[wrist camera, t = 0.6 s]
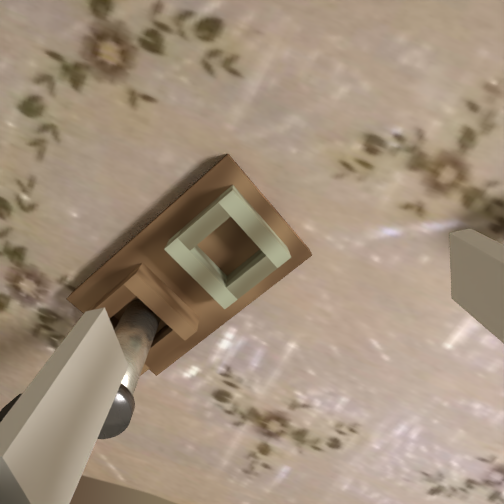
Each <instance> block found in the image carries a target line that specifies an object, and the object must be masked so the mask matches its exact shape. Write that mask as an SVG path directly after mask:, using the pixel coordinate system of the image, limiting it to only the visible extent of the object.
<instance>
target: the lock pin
mask: <svg viewBox="0 0 504 504" xmlns="http://www.w3.org/2000/svg"><path fill="white" fill-rule="evenodd" d="M160 320H161V318H160V317H158V316H157V315H156V314H155V313H154V312H153V311H152V310H151V309H150V308H149V307H148V306H146V305H145V304H144V303H143V302H142V301H141V300H140V299H136V300H134V301H132V302H131V303H130V304H129V305H128V306H127V308H126V310H125V312H124V314H123V315H122V317H121V319H120V321H119V322H118V324H117V326H116V328H115V330H114V331H115V334H116V336H117V339H118V341H119V344H120V346H121V349H122V351H123V354H124V356H125V359H126V361H127V364H128V369H127V371H126V373H125V375H124V378H123V380H122V382H121V385H120V387H119V389H118V392H117V394H116V396H115V399H114V401H113V403H112V406H111V408H110V410H109V413H108V415H107V417H106V420H105V422H104V424H103V427H102V429H101V431H100V434H99V436H98V438H97V439H107V438H112V437H115V436H117V435H119V434H120V433H122V432H123V431H124V430H125V429H126V428H127V427H128V425H129V423H130V420H131V417H132V414H133V411H134V408H135V401H134V397H133V393H134V390H135V388H136V385H137V382H138V379H139V377H140V374H141V371H142V369H143V366H144V363H145V360H146V358H147V355H148V352H149V350H150V347H151V344H152V341H153V339H154V336H155V333H156V331H157V328H158V325H159V322H160Z"/></svg>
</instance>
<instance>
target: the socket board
mask: <svg viewBox="0 0 504 504" xmlns="http://www.w3.org/2000/svg"><path fill="white" fill-rule="evenodd" d="M311 256H312V254H311V252H310V250H309V248H308V247H307V246H306V245H305V244H304V242H303V241H302V240H301V239H300V238H299V236H298V235H297V234H296V233H295V232H294V231H293V229H292V228H291V227H290V226H289V225H288V224H287V222H286V221H285V220H284V219H283V218H282V216H281V215H280V214H279V213H278V212H277V211H276V209H275V208H274V207H273V206H272V205H271V204H270V202H269V201H268V200H267V199H266V198H265V196H264V195H263V194H262V193H261V192H260V191H259V189H258V188H257V187H256V186H255V185H254V184H253V182H252V181H251V180H250V179H249V178H248V176H247V175H246V174H245V173H244V172H243V171H242V169H241V168H240V167H239V166H238V165H237V163H236V162H235V161H234V160H233V159H232V158H231V156H230V155H229V154H227V155H226V156H225V157H223V158H222V159H221V160H220V161H219V162H218V163H217V164H216V165H214V166H213V167H212V168H211V169H210V170H209V171H208V172H207V173H205V174H204V175H203V176H202V177H201V178H200V179H199V180H198V181H197V182H195V183H194V184H193V185H192V186H191V187H190V188H189V189H188V190H186V191H185V192H184V193H183V194H182V195H181V196H180V197H179V198H177V199H176V200H175V201H174V202H173V203H172V204H171V205H170V206H168V207H167V208H166V209H165V210H164V211H163V212H162V213H161V214H159V215H158V216H157V217H156V218H155V219H154V220H153V221H152V222H151V223H149V224H148V225H147V226H146V227H145V228H144V229H143V230H142V231H140V232H139V233H138V234H137V235H136V236H135V237H134V238H133V239H131V240H130V241H129V242H128V243H127V244H126V245H125V246H124V247H122V248H121V249H120V250H119V251H118V252H117V253H116V254H115V255H113V256H112V257H111V258H110V259H109V260H108V261H107V262H106V263H104V264H103V265H102V266H101V267H100V268H99V269H98V270H97V271H96V272H94V273H93V274H92V275H91V276H90V277H89V278H88V279H87V280H85V281H84V282H83V283H82V284H81V285H80V286H79V287H78V288H76V289H75V290H74V291H73V292H72V293H71V294H70V296H69V297H68V298H67V300H68V301H69V302H71V303H72V304H73V305H74V306H75V307H76V308H78V309H79V310H80V311H81V312H82V313H83V314H84V313H85V312H86V311H90V310H95V309H100V308H104V307H105V309H106V312H107V314H108V317H109V319H110V322H111V324H112V326H113V329H114V330H115V328H116V326H117V324H118V322H119V321H120V319H121V317H122V315H123V314H124V312H125V310H126V308H127V306H128V305H129V304H130V303H131V302H132V301H134V300H136V299H140V300H141V301H142V302H143V303H144V304H145V305H146V306H148V307H149V308H150V309H151V310H152V311H153V312H154V313H155V314H156V315H157V316H158V317H160V318H161V320H160V322H159V325H158V328H157V331H156V333H155V336H154V339H153V341H152V344H151V347H150V350H149V352H148V355H147V358H146V360H145V363H144V366H143V369H142V371H141V374H140V376H141V375H142V374H143V373H144V372H146V371H147V370H148V369H149V370H150V371H152V372H153V373H154V374H155V375H156V376H157V375H158V374H159V373H161V372H162V371H163V370H165V369H166V368H167V367H169V366H170V365H171V364H172V363H174V362H175V361H176V360H178V359H179V358H180V357H181V356H183V355H184V354H185V353H187V352H188V351H189V350H190V349H192V348H193V347H194V346H196V345H197V344H198V343H200V342H201V341H202V340H203V339H205V338H206V337H207V336H209V335H210V334H211V333H212V332H214V331H215V330H216V329H218V328H219V327H220V326H221V325H223V324H224V323H225V322H227V321H228V320H229V319H231V318H232V317H233V316H234V315H236V314H237V313H238V312H240V311H241V310H242V309H243V308H245V307H246V306H247V305H249V304H250V303H251V302H252V301H254V300H255V299H256V298H258V297H259V296H260V295H262V294H263V293H264V292H265V291H267V290H268V289H269V288H271V287H272V286H273V285H274V284H276V283H277V282H278V281H280V280H281V279H282V278H283V277H285V276H286V275H287V274H289V273H290V272H291V271H293V270H294V269H295V268H296V267H298V266H299V265H300V264H302V263H303V262H304V261H305V260H307V259H308V258H309V257H311Z"/></svg>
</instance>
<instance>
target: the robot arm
mask: <svg viewBox="0 0 504 504" xmlns="http://www.w3.org/2000/svg"><path fill="white" fill-rule="evenodd" d="M449 240H450V268H451V296H452V299H453V300H454V301H455V302H456V303H457V304H459V305H460V306H461V307H462V308H463V309H464V310H466V311H467V312H468V313H469V314H470V315H471V316H473V317H474V318H475V319H476V320H477V321H478V322H480V323H481V324H482V325H483V326H484V327H485V328H486V329H488V330H489V331H490V332H491V333H492V334H493V335H495V336H496V337H497V338H498V339H499V340H500V341H502V342H503V343H504V245H503V244H501V243H499V242H497V241H495V240H493V239H491V238H489V237H487V236H485V235H483V234H481V233H479V232H477V231H475V230H473V229H471V228H469V229H464V230H460V231H455V232H450V233H449ZM127 369H128V364H127V361H126V359H125V356H124V354H123V351H122V349H121V346H120V344H119V341H118V339H117V336H116V334H115V331H114V329H113V326H112V324H111V322H110V319H109V317H108V314H107V312H106V309H105V307H104V308H100V309H95V310H90V311H86V312H85V313H84V314H83V315H82V317H81V318H80V319H79V321H78V322H77V323H76V325H75V326H74V327H73V328H72V330H71V331H70V332H69V334H68V335H67V336H66V338H65V339H64V340H63V341H62V343H61V344H60V345H59V347H58V348H57V349H56V351H55V352H54V353H53V354H52V356H51V357H50V358H49V360H48V361H47V362H46V364H45V365H44V366H43V368H42V369H41V370H40V371H39V373H38V374H37V375H36V377H35V378H34V379H33V381H32V382H31V383H30V384H29V386H28V387H27V388H26V390H25V391H24V392H23V393H22V394H19V395H18V396H17V397H15V398H14V399H13V400H12V401H11V402H10V403H8V404H7V405H6V406H5V407H4V408H3V409H2V410H1V411H0V504H69V503H70V501H71V498H72V496H73V494H74V491H75V489H76V487H77V485H78V482H79V480H80V478H81V475H82V473H83V471H84V468H85V466H86V464H87V461H88V459H89V457H90V454H91V452H92V450H93V447H94V445H95V443H96V440H97V438H98V436H99V434H100V431H101V429H102V427H103V424H104V422H105V420H106V417H107V415H108V413H109V410H110V408H111V406H112V403H113V401H114V399H115V396H116V394H117V392H118V389H119V387H120V385H121V382H122V380H123V378H124V375H125V373H126V371H127Z"/></svg>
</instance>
